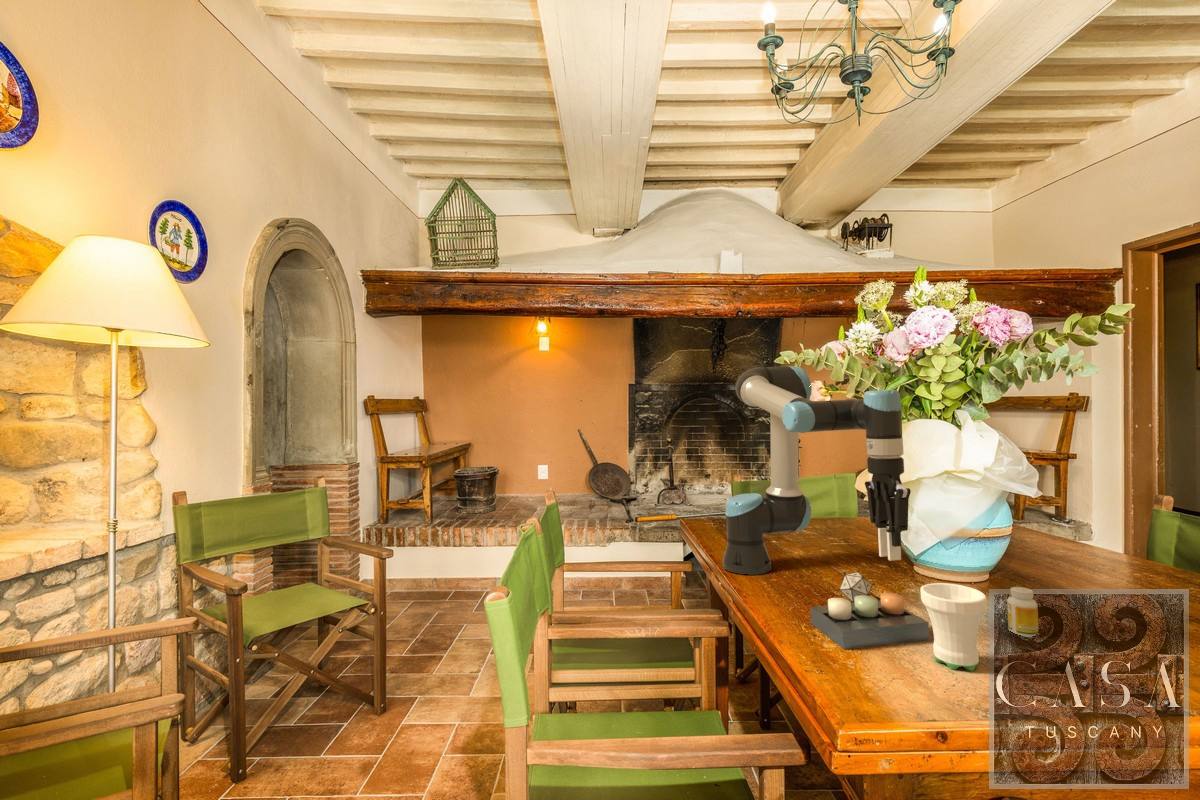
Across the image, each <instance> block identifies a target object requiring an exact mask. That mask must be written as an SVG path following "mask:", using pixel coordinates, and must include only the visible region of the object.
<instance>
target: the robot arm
mask: <svg viewBox="0 0 1200 800" xmlns="http://www.w3.org/2000/svg"><path fill="white" fill-rule="evenodd" d="M810 385H811V386H810ZM809 386H810V387H809ZM812 392H813V391H812V382H811V378H810V376H809V374H808V373H807V372H806V370H805V369H804V368H802V367H800V366H795V365H794V366H793V365H784V366H783V365H782V366H763V367H762V366H761V367H752V368H750V369H748V370H745V371H744V372H743V373H742V374H740V376H739V377H738V378H737V380H736V383H735V393H736V396H737V397H738V399H739V400H740V401H741V402H742V403H744V405H745V404H746V405H747V406H750V407H758V408H760V409H762V410H763V411H766V412H767V413H769V415H770V416H769V417H770V418H769V419H770V486H768V487H767V488H766V490H765V497H763V495H762V494H760V493H757V492H755V493H754V492H753V493H747V492H746V493H740V494H736V495H733V496H731V497H730V498H728V499H727V500H726V502H725V513H724V515H725V521H726V522H725V524H726V525H725V527H726V539H727V540H726V542H727V543H726V547H725V551H724V554H723V558H722V568H723V567H724V568H725V569H727V570H729V571H732V572H735V573H739V574H738V575H743V574H748V575H747V576H749V575H751V576H754V575H763V574H766V573H769V572H770V571H771V570H772V560H771V558H770V556H769V553H768V551H767V547H766V545H765V535H770V534H783V533H790V534H791V533H796V532H801V531H804V530H805V529H806V528H807V527H808V526H809V524H810V522H811V519H812V507H811V503H810V500H809V498H808V497H807V496H806V495H805V494H804V491H803V490H802V489H801V488H800V487H799V435H800V434H805V433H815V432H829V431H830V432H831V431H834V432H835V431H849V430H865V438H866V453H867V455H868V457H867V458H866V462H867V463H866V464H867V472H868V473H869V474H871V475H872V476H871V479H870V481H865V482H864V486H865V489H866V493H867V500H868V501H867V502H868V503H867V504H868V512H869V519H870V523H871V524H875V528H877V530H876V531H877V540H878V556H879V557H880V558H882V557H883V558H884V557H887V560H888V561H889V562H891V561H901V560H902V549H901V548H902V547H901V546H902V534H901V533H902V532H904V531H908V529H909V498H910V495H911V491H912V490H911V489H910V488H909V487H906V488H905V487H904V486H903V485H902V480H901V475H902V474H904V473H905V461H904V460H905V459H904V458H903V457H901V456H903V455H904V454H905V453H904V437H903V421H902V419H903V418H902V417H903V416H902V414H903V413H902V409H903V406H902V403H901V394H900V392H899V391H898V390H897V389H883V390H867V391H865V392H864V394H863V395H864V396H863V397H864V398H863V399H862V398H861V399H858V398H845V399H837V400H836V399H834V400H817V401H816V400H811V396H812ZM799 433H800V434H799ZM724 568H723V569H724ZM725 569H724V570H725ZM735 573H734V574H735Z"/></svg>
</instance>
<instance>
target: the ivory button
mask: <svg viewBox="0 0 1200 800" xmlns="http://www.w3.org/2000/svg"><path fill="white" fill-rule="evenodd" d="M851 603H852V601H851V600H850V599H848V598H847V599H846V598H842V597H831V598H828V599H827V605H828V612H829V616H830V617H832V618H835V619H840V620H847V619H850V618H851V617H852V616H851Z"/></svg>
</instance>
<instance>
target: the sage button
mask: <svg viewBox="0 0 1200 800" xmlns="http://www.w3.org/2000/svg"><path fill="white" fill-rule="evenodd" d="M854 601H855V613H856V614H858V615H860V616H864V617H876V616H878V601H879V600H878V599H877V598H876V597H873V596H872V595H870V596H866V595H859V596H855V597H854Z"/></svg>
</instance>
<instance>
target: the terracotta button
mask: <svg viewBox="0 0 1200 800" xmlns="http://www.w3.org/2000/svg"><path fill="white" fill-rule="evenodd" d="M879 596H880V597H879V598H880V600H881V610H882V611H883V612H886V613H889V614H903V613H904V612H905V610H906V609H905V597H904V596H903V595H901V594H898V593H893V592H883V593H880V595H879ZM904 609H905V610H904Z"/></svg>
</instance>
